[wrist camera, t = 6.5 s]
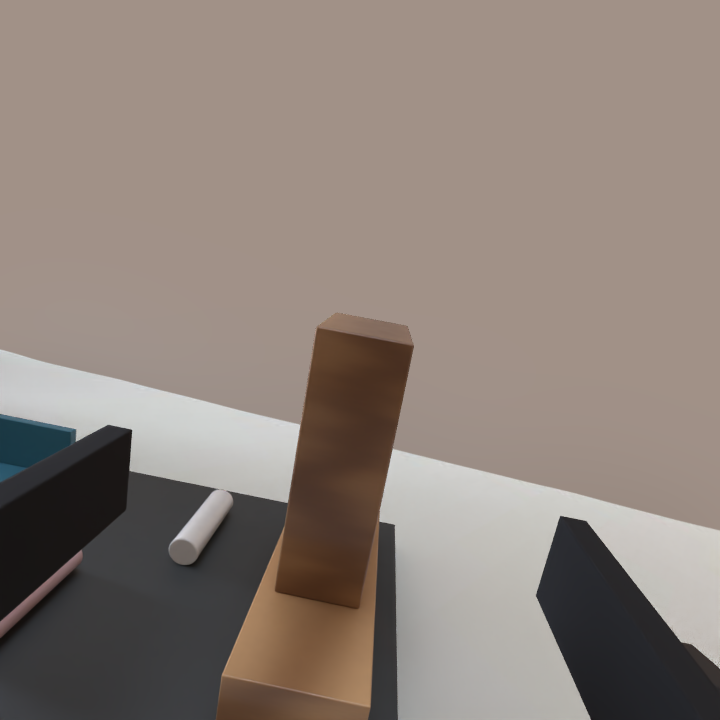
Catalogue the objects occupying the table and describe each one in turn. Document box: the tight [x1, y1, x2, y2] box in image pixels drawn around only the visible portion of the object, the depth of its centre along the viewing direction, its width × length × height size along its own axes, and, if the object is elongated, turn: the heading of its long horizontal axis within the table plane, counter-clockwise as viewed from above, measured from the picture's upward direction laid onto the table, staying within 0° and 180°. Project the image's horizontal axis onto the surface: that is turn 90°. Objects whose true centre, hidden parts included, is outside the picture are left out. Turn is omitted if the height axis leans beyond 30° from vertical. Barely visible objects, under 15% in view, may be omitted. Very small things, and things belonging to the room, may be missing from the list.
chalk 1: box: [0, 550, 83, 639], centre depth 16 cm, size 1×5×1 cm, turn 176°
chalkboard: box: [0, 471, 398, 720], centre depth 19 cm, size 20×15×2 cm
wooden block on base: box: [216, 313, 414, 720], centre depth 18 cm, size 4×12×12 cm, turn 176°
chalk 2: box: [169, 489, 233, 565], centre depth 22 cm, size 1×5×1 cm, turn 176°
